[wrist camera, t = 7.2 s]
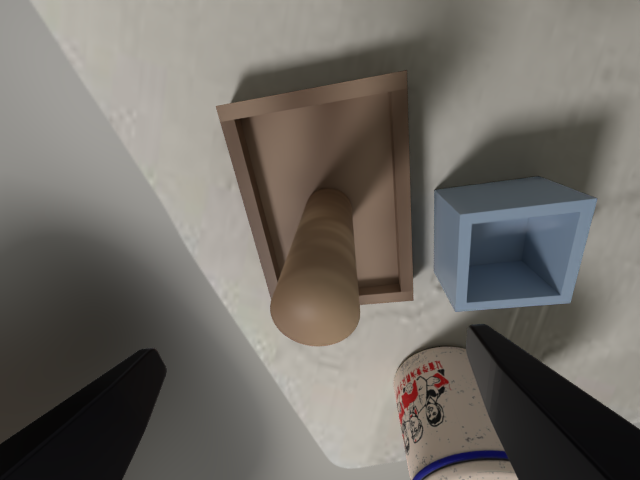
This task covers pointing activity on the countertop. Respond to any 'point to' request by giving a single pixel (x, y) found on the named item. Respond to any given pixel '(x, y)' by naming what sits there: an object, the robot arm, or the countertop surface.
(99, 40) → the countertop surface
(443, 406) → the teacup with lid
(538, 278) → the holder cup
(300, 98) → the tray
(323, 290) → the dowel pin
